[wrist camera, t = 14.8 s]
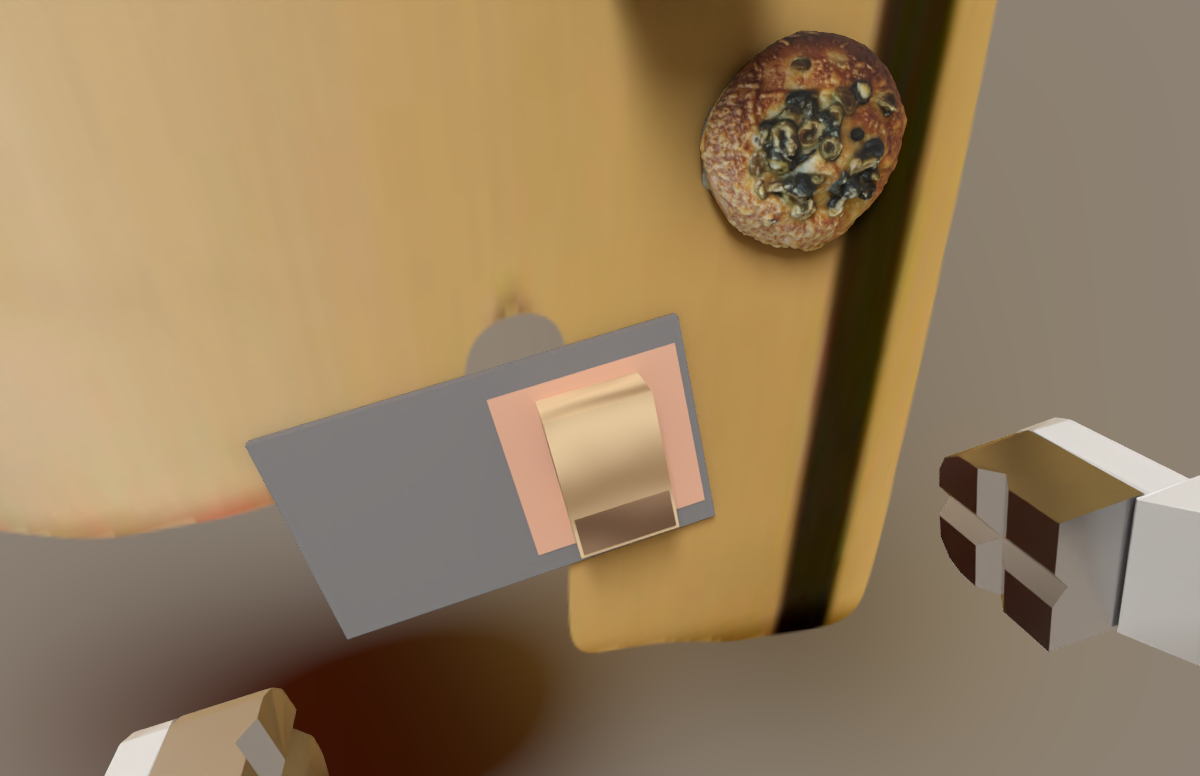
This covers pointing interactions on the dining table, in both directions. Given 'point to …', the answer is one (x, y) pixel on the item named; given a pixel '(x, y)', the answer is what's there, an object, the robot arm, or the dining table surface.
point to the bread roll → (803, 140)
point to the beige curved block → (609, 462)
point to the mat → (463, 478)
